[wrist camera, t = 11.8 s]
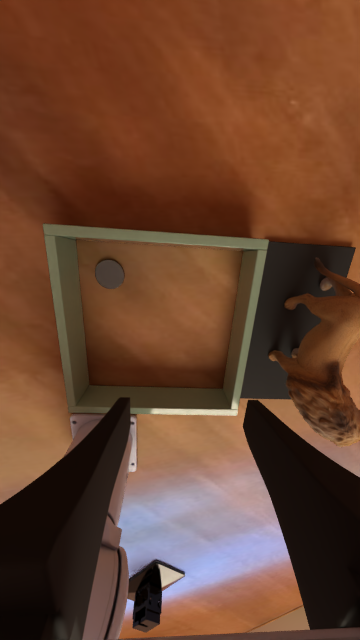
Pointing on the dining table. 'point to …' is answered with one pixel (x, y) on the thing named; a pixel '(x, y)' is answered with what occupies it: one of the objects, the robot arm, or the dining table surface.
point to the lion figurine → (326, 360)
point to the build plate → (150, 593)
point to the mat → (286, 310)
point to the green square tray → (112, 276)
